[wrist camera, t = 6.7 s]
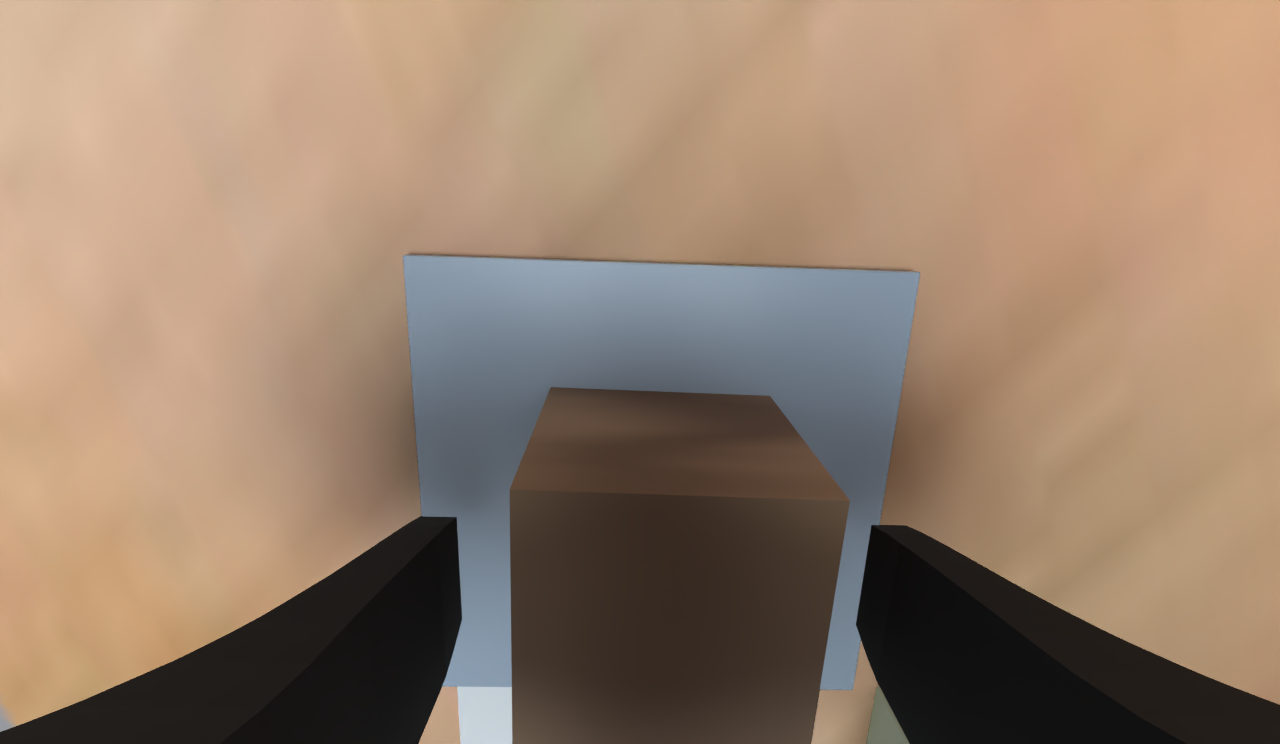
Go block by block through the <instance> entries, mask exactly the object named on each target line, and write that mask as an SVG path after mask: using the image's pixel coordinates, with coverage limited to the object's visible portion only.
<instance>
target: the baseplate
mask: <svg viewBox="0 0 1280 744" xmlns="http://www.w3.org/2000/svg"><path fill="white" fill-rule="evenodd" d="M403 263H404V277H405V291H406V305H407V319H408V333H409V347H410V360H411V374H412V388H413V402H414V416H415V430H416V444H417V458H418V471H419V485H420V499H421V513H422V516H426V517H457V532H458V551H459V569H460V588H461V607H462V622H461V625H460V629H459V633H458V637H457V640H456V644H455V648H454V651H453V655H452V658H451V662H450V665H449V668H448V672H447V675H446V678H445V680H444V683H443V685H442V686H450V687H512V668H511V579H510V487H511V485H512V482H513V480H514V477H515V475H516V472H517V470H518V467H519V465H520V462H521V460H522V457H523V455H524V452H525V450H526V447H527V445H528V442H529V440H530V437H531V435H532V432H533V430H534V427H535V425H536V423H537V420H538V418H539V415H540V413H541V410H542V408H543V405H544V403H545V400H546V398H547V395H548V393H549V390H550V388H551V387H558V388H584V389H609V390H635V391H660V392H685V393H711V394H736V395H762V396H770V397H771V398H772V399H773V400H774V402H775V403H776V404H777V406H778V407H779V408H780V410H781V411H782V412H783V414H784V415H785V416H786V417H787V419H788V420H789V421H790V423H791V424H792V425H793V427H794V428H795V429H796V431H797V432H798V433H799V435H800V436H801V437H802V438H803V440H804V441H805V442H806V444H807V445H808V446H809V448H810V449H811V450H812V452H813V453H814V454H815V456H816V457H817V458H818V459H819V461H820V462H821V463H822V465H823V466H824V467H825V469H826V470H827V471H828V473H829V474H830V475H831V477H832V478H833V479H834V480H835V482H836V483H837V484H838V486H839V487H840V488H841V490H842V491H843V492H844V494H845V495H846V496H847V497H848V499H849V500H850V504H849V510H848V516H847V523H846V529H845V535H844V541H843V548H842V554H841V560H840V566H839V572H838V579H837V585H836V591H835V597H834V604H833V610H832V616H831V622H830V628H829V635H828V641H827V647H826V653H825V660H824V666H823V672H822V678H821V684H820V690H853V685H854V679H855V673H856V667H857V661H858V654H859V648H860V642H861V638H860V635H859V632H858V629H857V627H856V620H857V614H858V607H859V601H860V595H861V588H862V582H863V575H864V569H865V563H866V556H867V550H868V544H869V537H870V531H871V525H880V519H881V512H882V506H883V500H884V494H885V488H886V482H887V475H888V469H889V463H890V457H891V451H892V445H893V438H894V432H895V426H896V420H897V414H898V407H899V401H900V395H901V389H902V383H903V377H904V370H905V364H906V358H907V352H908V346H909V340H910V333H911V327H912V321H913V315H914V309H915V303H916V296H917V290H918V284H919V278H920V272H915V271H897V270H867V269H837V268H807V267H777V266H747V265H717V264H687V263H656V262H626V261H596V260H566V259H536V258H506V257H476V256H446V255H416V254H407V255H403Z"/></svg>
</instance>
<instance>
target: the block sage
mask: <svg viewBox="0 0 1280 744" xmlns="http://www.w3.org/2000/svg"><path fill="white" fill-rule="evenodd" d="M866 744H910V743H909V742H908V740H907V738H906V736H905V734H904V732H903V730H902V728H901V727H900V725H899V723H898V721H897V719H896V717H895V715H894V713H893V711H892V709H891V707H890V706H889V704H888V702H887V700H886V698H885V696H884V694H883V692H882V690H881V688H880V687H877V688H876V693H875V699H874V704H873V710H872V715H871V720H870V726H869V731H868V737H867V742H866Z"/></svg>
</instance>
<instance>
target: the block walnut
mask: <svg viewBox="0 0 1280 744" xmlns="http://www.w3.org/2000/svg"><path fill="white" fill-rule="evenodd" d="M849 504H850V500H849V499H848V497H847V496H846V495H845V494H844V492H843V491H842V490H841V488H840V487H839V486H838V484H837V483H836V482H835V480H834V479H833V478H832V477H831V475H830V474H829V473H828V471H827V470H826V469H825V467H824V466H823V465H822V463H821V462H820V461H819V459H818V458H817V457H816V456H815V454H814V453H813V452H812V450H811V449H810V448H809V446H808V445H807V444H806V442H805V441H804V440H803V438H802V437H801V436H800V435H799V433H798V432H797V431H796V429H795V428H794V427H793V425H792V424H791V423H790V421H789V420H788V419H787V417H786V416H785V415H784V414H783V412H782V411H781V410H780V408H779V407H778V406H777V404H776V403H775V402H774V400H773V399H772V398H771V397H770V396H762V395H736V394H711V393H685V392H660V391H635V390H609V389H584V388H558V387H551V388H550V390H549V393H548V395H547V398H546V400H545V403H544V405H543V408H542V410H541V413H540V415H539V418H538V420H537V423H536V425H535V427H534V430H533V432H532V435H531V437H530V440H529V442H528V445H527V447H526V450H525V452H524V455H523V457H522V460H521V462H520V465H519V467H518V470H517V472H516V475H515V477H514V480H513V482H512V485H511V487H510V579H511V668H512V744H811V740H812V734H813V728H814V722H815V716H816V709H817V703H818V697H819V691H820V684H821V678H822V672H823V666H824V660H825V653H826V647H827V641H828V635H829V628H830V622H831V616H832V610H833V604H834V597H835V591H836V585H837V579H838V572H839V566H840V560H841V554H842V548H843V541H844V535H845V529H846V523H847V516H848V510H849Z"/></svg>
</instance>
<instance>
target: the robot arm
mask: <svg viewBox="0 0 1280 744" xmlns="http://www.w3.org/2000/svg"><path fill="white" fill-rule="evenodd" d="M461 622H462V607H461V588H460V569H459V551H458V532H457V517H426V516H421V517H419V518H417V519H415V520H413V521H412V522H410V523H408V524H407V525H405V526H404V527H402V528H401V529H399V530H398V531H396V532H394V533H393V534H391V535H390V536H388V537H387V538H385V539H384V540H382V541H381V542H379V543H378V544H377V545H375V546H374V547H372V548H371V549H369V550H368V551H366V552H364V553H363V554H361V555H360V556H358V557H357V558H355V559H354V560H352V561H351V562H349V563H348V564H346V565H345V566H343V567H342V568H340V569H339V570H337V571H336V572H334V573H333V574H331V575H329V576H328V577H326V578H325V579H323V580H321V581H320V582H318V583H316V584H315V585H313V586H311V587H310V588H308V589H306V590H305V591H303V592H301V593H300V594H298V595H296V596H295V597H293V598H291V599H290V600H288V601H286V602H285V603H283V604H281V605H280V606H278V607H276V608H275V609H273V610H271V611H270V612H268V613H266V614H264V615H263V616H261V617H259V618H257V619H255V620H254V621H252V622H250V623H248V624H246V625H244V626H242V627H241V628H239V629H237V630H235V631H233V632H231V633H229V634H227V635H225V636H223V637H221V638H219V639H217V640H215V641H213V642H211V643H209V644H207V645H205V646H203V647H201V648H199V649H197V650H195V651H193V652H191V653H189V654H187V655H185V656H183V657H181V658H179V659H177V660H175V661H173V662H170V663H168V664H166V665H163V666H161V667H159V668H156V669H154V670H152V671H150V672H147V673H145V674H143V675H140V676H138V677H136V678H134V679H131V680H129V681H127V682H124V683H122V684H120V685H117V686H115V687H113V688H111V689H108V690H106V691H104V692H101V693H99V694H97V695H95V696H92V697H90V698H88V699H85V700H83V701H80V702H78V703H75V704H73V705H70V706H68V707H65V708H63V709H60V710H58V711H55V712H52V713H50V714H47V715H45V716H42V717H39V718H37V719H34V720H32V721H29V722H26V723H24V724H21V725H19V726H16V727H13V728H10V729H8V730H5V731H2V732H0V744H418V743H419V741H420V738H421V736H422V733H423V731H424V729H425V726H426V724H427V722H428V719H429V717H430V714H431V712H432V710H433V707H434V705H435V702H436V700H437V697H438V695H439V693H440V690H441V688H442V685H443V683H444V680H445V678H446V675H447V672H448V668H449V665H450V662H451V658H452V655H453V651H454V648H455V644H456V640H457V637H458V633H459V629H460V625H461ZM856 627H857V629H858V632H859V635H860V638H861V641H862V643H863V646H864V649H865V652H866V655H867V657H868V660H869V662H870V665H871V667H872V670H873V673H874V675H875V678H876V680H877V682H878V684H879V686H880V688H881V690H882V692H883V694H884V696H885V698H886V700H887V702H888V704H889V706H890V707H891V709H892V711H893V713H894V715H895V717H896V719H897V721H898V723H899V725H900V727H901V728H902V730H903V732H904V734H905V736H906V738H907V740H908V742H909V743H910V744H1280V705H1278V704H1276V703H1273V702H1270V701H1268V700H1265V699H1263V698H1260V697H1257V696H1255V695H1252V694H1249V693H1247V692H1244V691H1242V690H1239V689H1236V688H1234V687H1231V686H1228V685H1226V684H1224V683H1221V682H1219V681H1216V680H1214V679H1211V678H1209V677H1206V676H1204V675H1202V674H1199V673H1197V672H1194V671H1192V670H1190V669H1187V668H1185V667H1183V666H1180V665H1178V664H1176V663H1174V662H1171V661H1169V660H1167V659H1165V658H1162V657H1160V656H1158V655H1156V654H1153V653H1151V652H1149V651H1147V650H1144V649H1142V648H1140V647H1138V646H1135V645H1133V644H1131V643H1129V642H1127V641H1124V640H1122V639H1120V638H1118V637H1116V636H1114V635H1112V634H1110V633H1108V632H1106V631H1103V630H1101V629H1099V628H1097V627H1095V626H1093V625H1092V624H1090V623H1088V622H1086V621H1084V620H1082V619H1080V618H1078V617H1076V616H1074V615H1072V614H1070V613H1068V612H1066V611H1064V610H1062V609H1060V608H1058V607H1056V606H1054V605H1052V604H1051V603H1049V602H1047V601H1045V600H1043V599H1041V598H1039V597H1037V596H1036V595H1034V594H1032V593H1030V592H1028V591H1026V590H1025V589H1023V588H1021V587H1019V586H1017V585H1015V584H1014V583H1012V582H1010V581H1008V580H1006V579H1005V578H1003V577H1001V576H999V575H998V574H996V573H994V572H992V571H990V570H989V569H987V568H985V567H983V566H982V565H980V564H978V563H976V562H975V561H973V560H971V559H969V558H967V557H966V556H964V555H962V554H960V553H959V552H957V551H955V550H953V549H951V548H950V547H948V546H946V545H944V544H942V543H940V542H939V541H937V540H935V539H933V538H931V537H929V536H927V535H925V534H923V533H921V532H919V531H917V530H915V529H913V528H910V527H908V526H897V525H871V531H870V537H869V544H868V550H867V556H866V563H865V569H864V575H863V582H862V588H861V595H860V601H859V607H858V614H857V620H856Z"/></svg>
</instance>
